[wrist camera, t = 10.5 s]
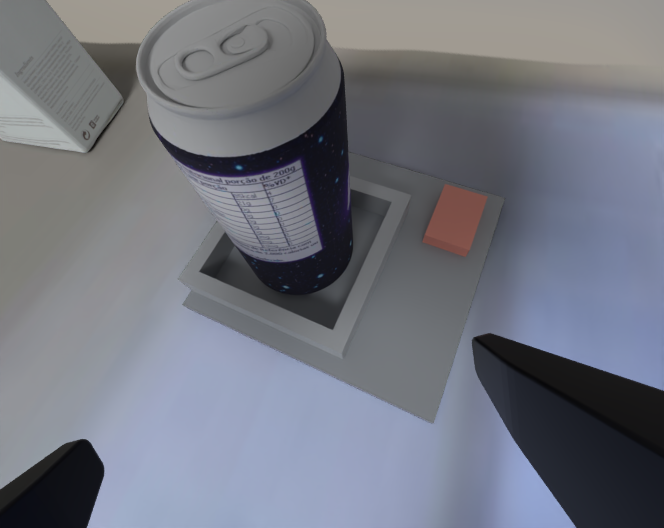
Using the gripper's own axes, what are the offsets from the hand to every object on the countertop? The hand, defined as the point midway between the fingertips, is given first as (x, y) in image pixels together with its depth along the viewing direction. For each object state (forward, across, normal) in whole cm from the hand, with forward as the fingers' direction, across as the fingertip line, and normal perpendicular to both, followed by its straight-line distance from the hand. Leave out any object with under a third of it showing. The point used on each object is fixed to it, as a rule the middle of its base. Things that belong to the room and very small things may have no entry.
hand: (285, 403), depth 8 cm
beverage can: (+12, 0, 0) cm, 13 cm away
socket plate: (+12, -3, +1) cm, 13 cm away
